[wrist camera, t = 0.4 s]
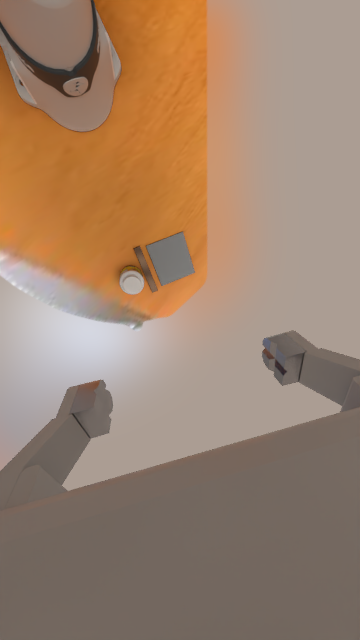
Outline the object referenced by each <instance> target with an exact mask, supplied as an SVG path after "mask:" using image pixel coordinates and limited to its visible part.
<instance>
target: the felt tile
mask: <svg viewBox="0 0 360 640" xmlns="http://www.w3.org/2000/svg"><path fill="white" fill-rule="evenodd" d="M146 247H147V250H148V252H149V255H150V258H151V260H152V263H153V265H154V268H155V270H156V273H157V275H158V278H159V280H160V283H161V285H162V286H163V285H166V284H168V283H170V282H173V281H175V280H178V279H180V278H183V277H185V276H188V275H190V274H192V273H195V271H194V268H193V264H192V261H191V258H190V254H189V251H188V248H187V244H186V241H185V238H184V234H183V232H180V233H178V234H175V235H173V236H170V237H168V238H165V239H163V240H160V241H157V242H155V243H152V244H150V245H147V246H146Z"/></svg>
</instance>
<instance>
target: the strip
mask: <svg viewBox="0 0 360 640" xmlns="http://www.w3.org/2000/svg"><path fill="white" fill-rule="evenodd" d="M134 251H135V253H136V255H137V258H138V260H139V262H140V265H141V267H142V269H143V272H144V274H145V276H146V279H147V281H148V283H149V286H150V288H151V290H152V293H153V292H155V291H157V290H158V289H157V287H156V285H155V282H154V280H153V277H152V275H151V272H150V270H149V268H148V265H147V263H146V260H145V258H144V255H143V253H142V250H141V248H140V246H139V247H136V248H134Z"/></svg>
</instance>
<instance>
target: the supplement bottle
mask: <svg viewBox="0 0 360 640" xmlns="http://www.w3.org/2000/svg"><path fill="white" fill-rule="evenodd" d="M120 287H121V289H122V290H123V291H124V292H125V293H127V294H132V295H133V294H137V293H139V292H140V291H141V290H142V289H143V287H144V279H143V276H142V273H141V271H140V270H139V269H138V268H137V267H135V266H127V267H125V268H124V269H123V270H122V271H121V274H120Z"/></svg>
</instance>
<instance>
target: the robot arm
mask: <svg viewBox="0 0 360 640" xmlns="http://www.w3.org/2000/svg"><path fill="white" fill-rule="evenodd" d="M0 45H1V47H2V49H3V52H4V55H5V57H6V60H7V63H8V66H9V69H10V72H11V74H12V77H13V80H14V83H15V86H16V89H17V91H18V93H19V95H20V97H21V98H22V100H23V101H24V102H26V103H27V104H29V105H31V106H33V107H36V108H39V109H41V110H43V111H44V112H45V113H47V114H48V115H49V116H50V117H51V118H52V119H53V120H55V121H56V122H57V123H59V124H60V125H62V126H64V127H66V128H68V129H71V130H74V131H81V132H85V131H91V130H93V129H96V128H97V127H99V126H100V125H101V124H102V123H103V122H104V121H105V120H106V118H107V117H108V115H109V113H110V110H111V107H112V103H113V94H114V87H115V84H116V82H117V80H118V79H119V76H120V74H121V63H120V59H119V57H118V55H117V53H116V51H115V49H114V46H113V44H112V42H111V40H110V38H109V36H108V33H107V31H106V29H105V27H104V25H103V23H102V21H101V19H100V16H99V14H98V12H97V10H96V8H95V4H94V1H93V0H0ZM21 82H22V83H23V85H24V86H22V85H21ZM263 345H264V347H265V349H264V350H263V352H262V357H263V361H264V363H265V365H266V366H267V368H268V369H269V370H272V371H274V376H275V378H276V379H277V380H278V381H279V383H280V384H281V385H282V386H283V385H287V384H291V383H296V382H299V383H301V384H303V385H305V386H306V387H308V388H310V389H312V390H314V391H316V392H317V393H320V394H321V395H323V396H325V397H327V398H329V399H330V400H332V401H334V402H336V403H338V404H340V405H341V406H342V409H341V411H340V413H337V414H334V415H330V416H327V417H323V418H320V419H316V420H313V421H309V422H306V423H303V424H299V425H296V426H292V427H289V428H285V429H282V430H278V431H275V432H271V433H268V434H265V435H261V436H257V437H254V438H251V439H247V440H244V441H241V442H237V443H233V444H230V445H226V446H223V447H219V448H216V449H212V450H209V451H206V452H202V453H199V454H195V455H192V456H188V457H185V458H182V459H178V460H174V461H171V462H168V463H164V464H160V465H157V466H154V467H150V468H147V469H144V470H140V471H136V472H133V473H129V474H126V475H122V476H119V477H115V478H112V479H108V480H105V481H102V482H98V483H95V484H91V485H88V486H84V487H81V488H77V489H74V490H71V491H67V490H66V489H65V488H64V487H63V486H62V484H63V482H64V481H65V479H66V478H67V476H68V474H69V473H70V471H71V470H72V468H73V466H74V465H75V463H76V462H77V460H78V459H79V457H80V456H81V454H82V452H83V451H84V449H85V448H86V446H87V444H88V443H89V441H90V439H91V438H94V437H97V436H101V435H104V434H107V433H109V430H110V423H111V419H110V417H109V414H110V413H111V412H112V408H113V402H112V397H111V394H110V392H109V391H108V390H106V389H105V387H106V384H105V382H104V381H103V380H98V381H93V382H89V383H85V384H81V385H77V386H73V387H70V388H69V389H67V392H66V394H65V396H64V399H63V401H62V404H61V406H60V409H59V411H58V414H57V416H56V418H55V419H52V420H51V421H50V422H49V423H48V424H47V425H46V426H45V427H44V428H43V429H42V430H41V431H40V432H39V433H38V434H37V435H36V436H35V437H34V438H33V439H32V440H31V441H30V442H29V443H28V444H27V445H26V446H25V447H24V448H23V449H22V450H21V451H20V452H19V453H18V454H17V455H16V456H15V457H14V458H13V459H12V460H11V461H10V462H9V463H8V464H7V465H6V466H5V467H4V468H3V469H2V470H1V471H0V640H360V360H359V359H356V358H352V357H349V356H345V355H342V354H339V353H336V352H332V351H329V350H326V349H322V348H321V349H318V348H316V347H315V346H314V345H313V344H311V343H310V342H308V341H307V340H306V339H305V338H304V337H302V336H301V335H300V334H298V333H297V332H296V331H289V332H285V333H282V334H278V335H274V336H271V337H267V338H264V340H263Z"/></svg>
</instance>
